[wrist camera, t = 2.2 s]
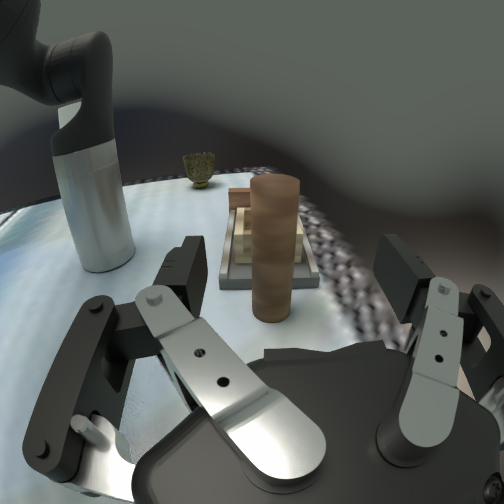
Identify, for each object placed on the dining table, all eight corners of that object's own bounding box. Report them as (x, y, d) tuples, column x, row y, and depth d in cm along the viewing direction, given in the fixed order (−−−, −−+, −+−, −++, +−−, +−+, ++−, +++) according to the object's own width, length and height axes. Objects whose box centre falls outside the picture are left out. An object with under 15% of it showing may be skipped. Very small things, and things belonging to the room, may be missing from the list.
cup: (219, 189, 63) (217, 156, 59) (187, 194, 61) (184, 160, 57) (213, 180, 69) (211, 150, 65) (184, 184, 67) (181, 154, 63)
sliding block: (300, 262, 34) (303, 233, 32) (235, 263, 34) (234, 234, 32) (292, 232, 41) (294, 207, 39) (238, 232, 41) (237, 207, 39)
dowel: (244, 311, 29) (239, 181, 22) (267, 292, 32) (269, 171, 24) (275, 328, 27) (281, 191, 20) (296, 307, 29) (308, 180, 22)
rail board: (318, 287, 32) (324, 247, 29) (219, 289, 32) (215, 248, 29) (295, 216, 49) (297, 187, 46) (230, 217, 49) (229, 188, 46)
